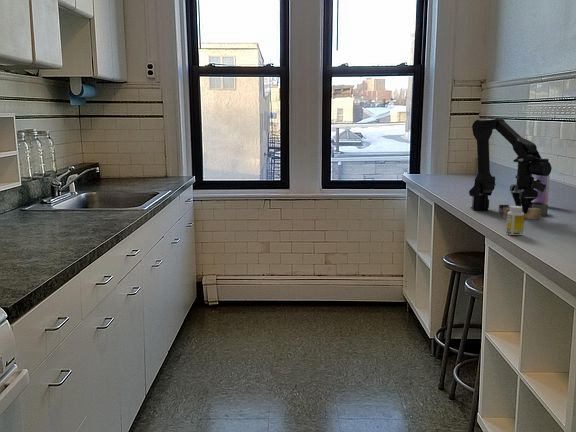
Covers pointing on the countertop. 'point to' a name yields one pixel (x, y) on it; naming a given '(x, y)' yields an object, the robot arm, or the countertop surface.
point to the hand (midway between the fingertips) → (521, 211)
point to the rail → (531, 213)
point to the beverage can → (544, 195)
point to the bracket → (540, 207)
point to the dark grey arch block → (502, 208)
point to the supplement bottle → (515, 221)
